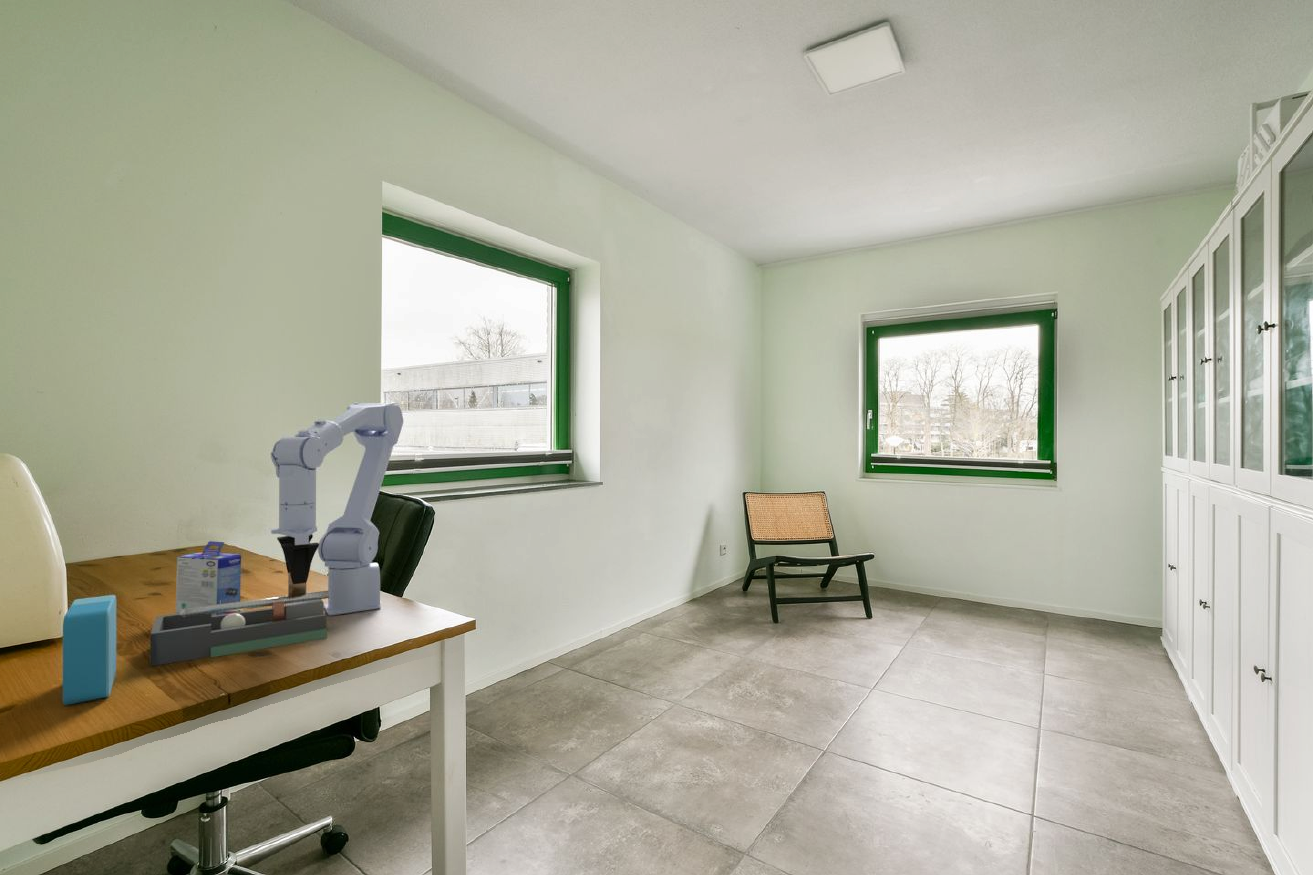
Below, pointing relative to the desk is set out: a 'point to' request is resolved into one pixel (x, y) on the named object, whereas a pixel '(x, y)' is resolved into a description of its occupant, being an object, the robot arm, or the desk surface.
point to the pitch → (234, 632)
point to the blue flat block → (89, 649)
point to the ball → (232, 621)
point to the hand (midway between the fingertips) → (297, 578)
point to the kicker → (262, 602)
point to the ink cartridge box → (208, 579)
